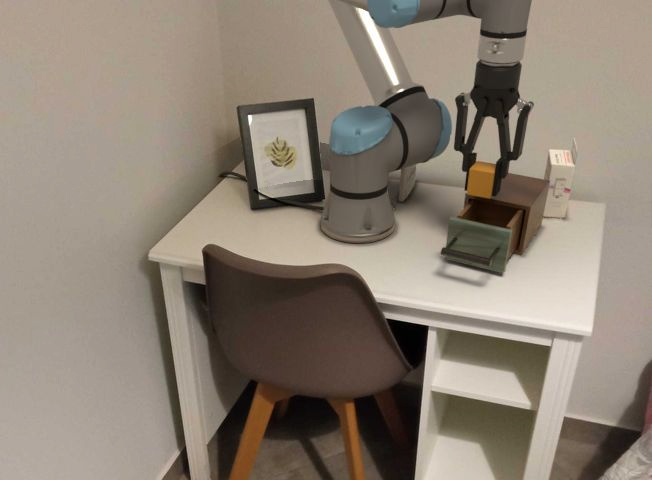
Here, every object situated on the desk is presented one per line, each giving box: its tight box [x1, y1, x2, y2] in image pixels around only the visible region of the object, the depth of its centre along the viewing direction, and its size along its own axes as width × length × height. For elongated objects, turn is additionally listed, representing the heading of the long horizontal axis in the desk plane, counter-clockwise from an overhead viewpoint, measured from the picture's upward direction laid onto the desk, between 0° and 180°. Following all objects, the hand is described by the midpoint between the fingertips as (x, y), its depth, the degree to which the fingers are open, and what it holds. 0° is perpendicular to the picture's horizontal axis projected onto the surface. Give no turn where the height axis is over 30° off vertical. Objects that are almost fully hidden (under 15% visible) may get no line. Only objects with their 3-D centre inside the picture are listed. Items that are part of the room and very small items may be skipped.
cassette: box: [398, 164, 417, 203], centre depth 158 cm, size 12×2×8 cm, turn 159°
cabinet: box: [463, 172, 550, 256], centre depth 141 cm, size 14×13×10 cm
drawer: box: [440, 199, 526, 274], centre depth 131 cm, size 19×11×8 cm, turn 149°
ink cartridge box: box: [543, 136, 579, 219], centre depth 148 cm, size 9×5×15 cm, turn 168°
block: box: [466, 160, 496, 199], centre depth 132 cm, size 4×4×5 cm
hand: (482, 190), depth 133 cm, fingers closed on block, 4 cm apart
